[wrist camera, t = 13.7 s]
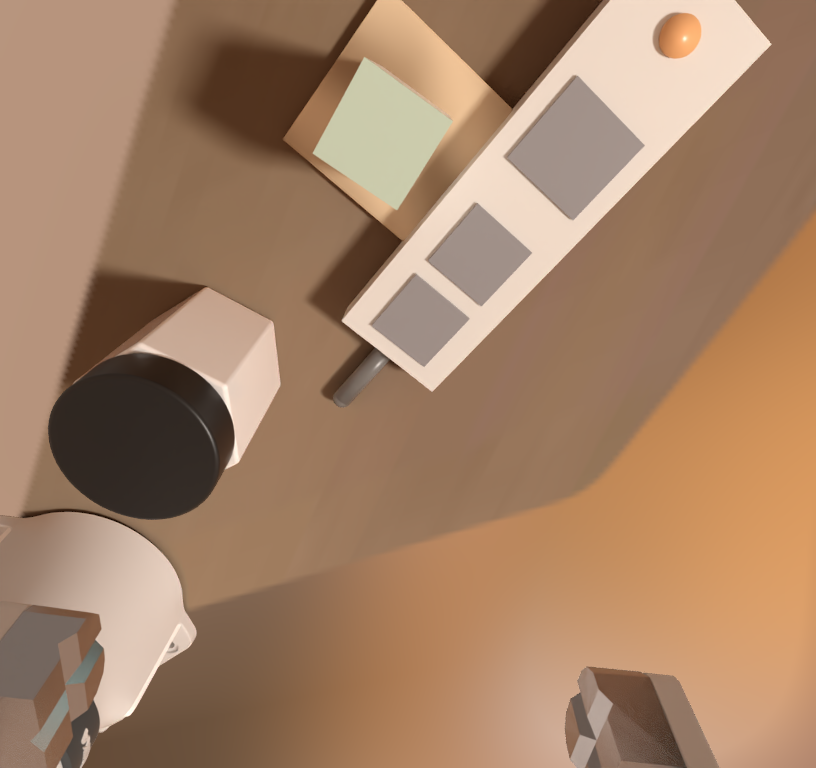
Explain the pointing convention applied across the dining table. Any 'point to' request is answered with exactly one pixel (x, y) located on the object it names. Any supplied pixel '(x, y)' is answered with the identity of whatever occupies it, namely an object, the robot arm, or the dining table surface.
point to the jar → (168, 408)
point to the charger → (382, 133)
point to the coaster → (432, 78)
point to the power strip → (548, 178)
